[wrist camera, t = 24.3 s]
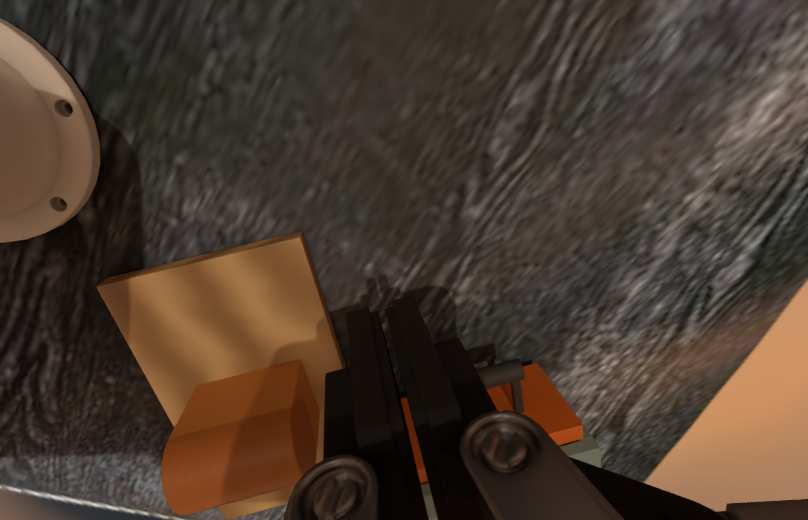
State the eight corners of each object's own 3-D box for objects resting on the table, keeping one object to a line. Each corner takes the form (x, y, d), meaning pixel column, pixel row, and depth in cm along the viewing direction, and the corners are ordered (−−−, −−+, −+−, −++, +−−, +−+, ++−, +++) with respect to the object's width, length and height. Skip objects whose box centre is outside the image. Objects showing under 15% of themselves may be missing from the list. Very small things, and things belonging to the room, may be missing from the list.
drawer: (372, 359, 31) (379, 426, 24) (532, 318, 31) (580, 373, 25) (425, 545, 39) (441, 631, 32) (551, 509, 39) (591, 587, 33)
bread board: (230, 504, 35) (225, 520, 34) (108, 277, 27) (95, 286, 25) (377, 464, 36) (378, 479, 34) (302, 230, 27) (300, 237, 26)
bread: (222, 437, 31) (186, 535, 24) (196, 385, 29) (149, 474, 22) (320, 411, 31) (313, 500, 24) (300, 358, 29) (286, 438, 22)
